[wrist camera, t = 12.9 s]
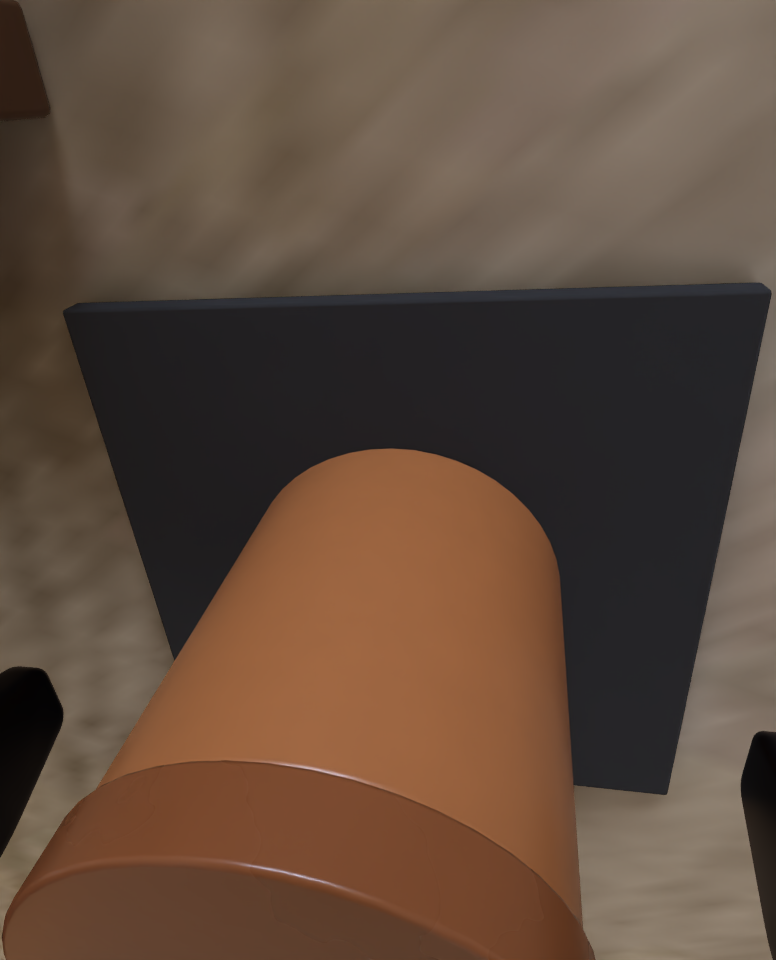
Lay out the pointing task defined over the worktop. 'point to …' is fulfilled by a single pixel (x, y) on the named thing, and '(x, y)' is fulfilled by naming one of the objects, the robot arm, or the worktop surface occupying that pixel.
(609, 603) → the black rubber mat
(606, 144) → the worktop surface
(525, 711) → the copper tin
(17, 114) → the walnut shelf
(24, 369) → the worktop surface
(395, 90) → the worktop surface
